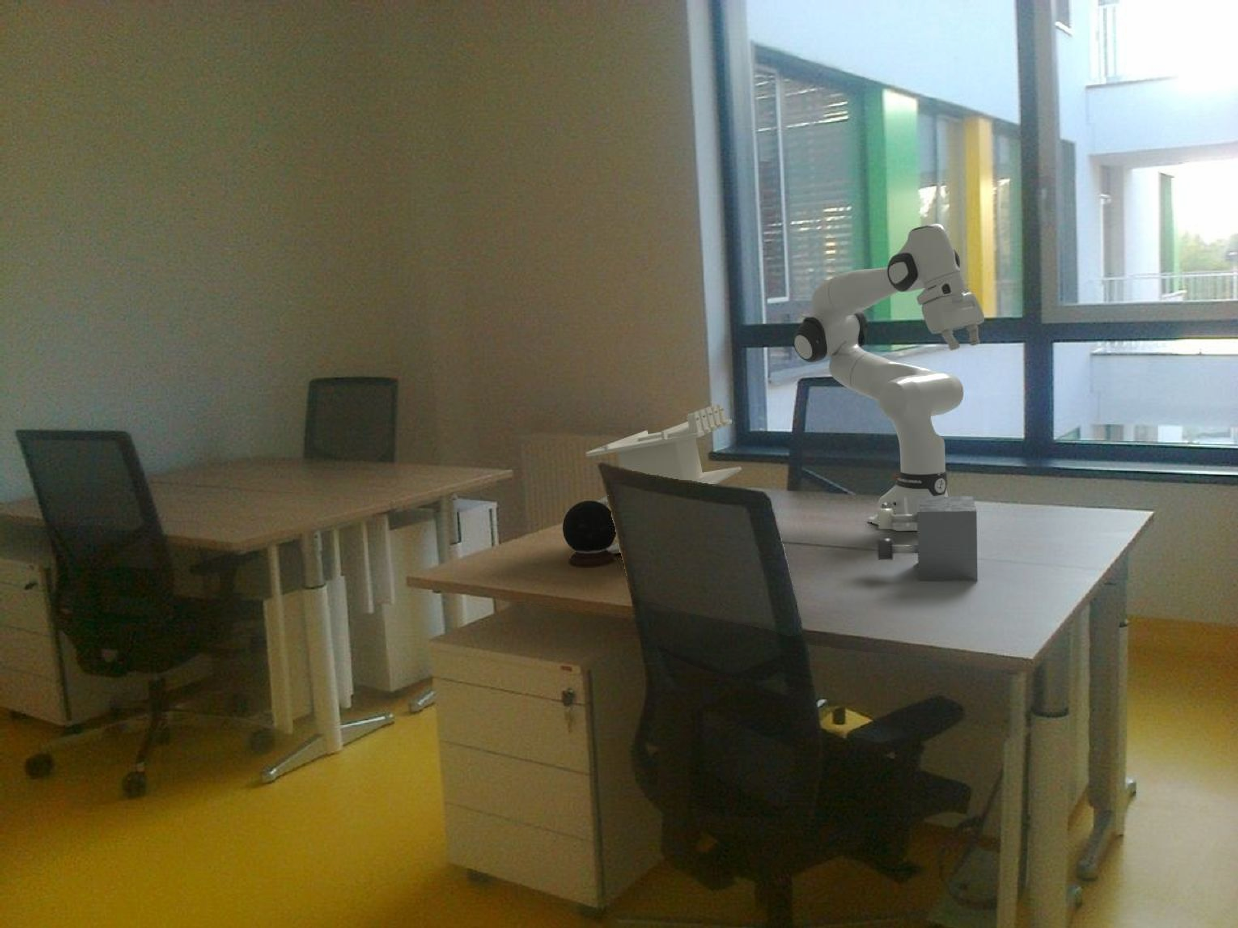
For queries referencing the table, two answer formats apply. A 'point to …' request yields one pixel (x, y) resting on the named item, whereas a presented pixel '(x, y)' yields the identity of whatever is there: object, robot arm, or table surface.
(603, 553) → the black crystal ball
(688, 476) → the white spaceship model
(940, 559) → the control box
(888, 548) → the charcoal knob
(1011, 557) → the table surface
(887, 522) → the ivory knob
